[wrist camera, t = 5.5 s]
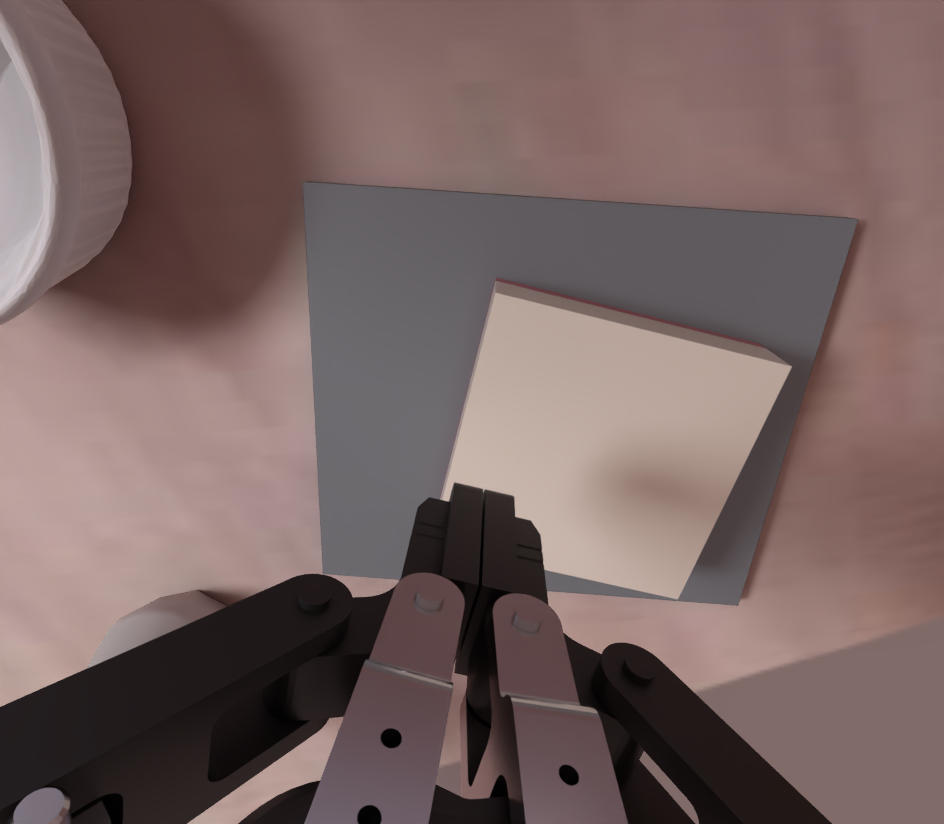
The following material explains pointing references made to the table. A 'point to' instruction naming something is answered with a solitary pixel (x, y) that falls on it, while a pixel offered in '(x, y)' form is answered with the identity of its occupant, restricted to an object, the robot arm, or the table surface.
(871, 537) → the table surface
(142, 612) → the salt shaker
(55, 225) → the ramekin
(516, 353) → the tile
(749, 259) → the slate mat
